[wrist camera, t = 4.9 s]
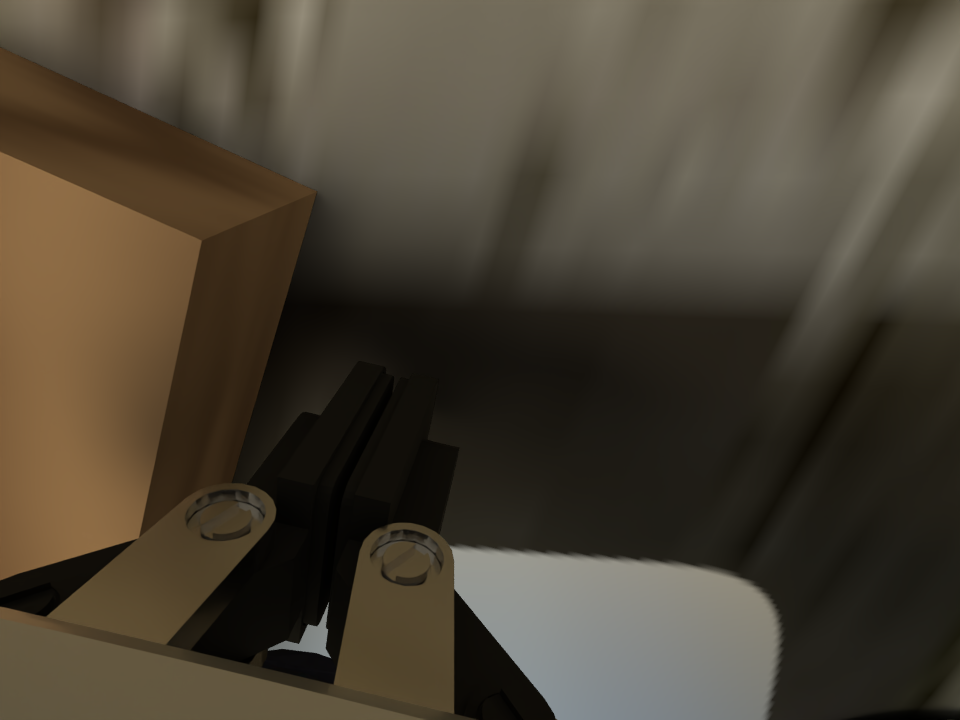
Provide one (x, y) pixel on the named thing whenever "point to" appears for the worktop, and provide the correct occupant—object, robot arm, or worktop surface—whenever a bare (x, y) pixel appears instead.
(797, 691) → the worktop surface
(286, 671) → the portable speaker
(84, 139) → the brown rectangular box
